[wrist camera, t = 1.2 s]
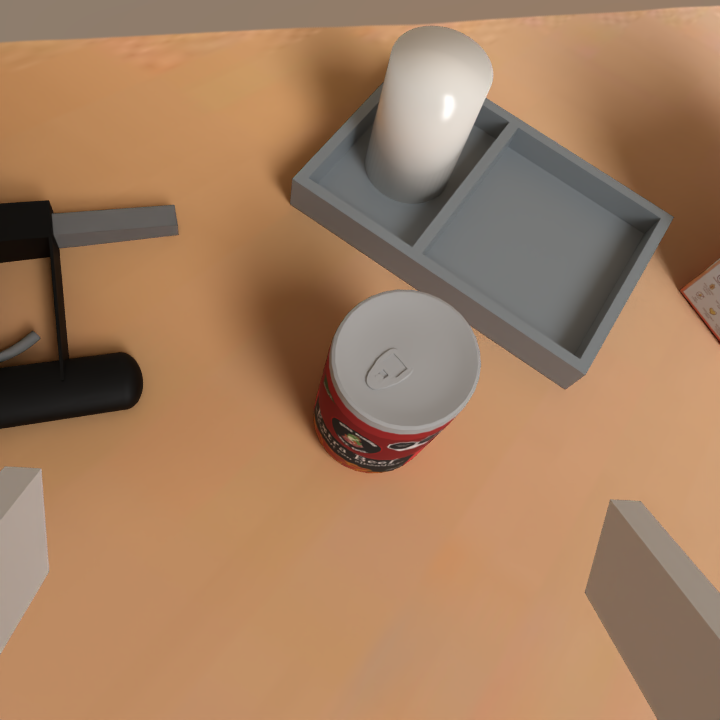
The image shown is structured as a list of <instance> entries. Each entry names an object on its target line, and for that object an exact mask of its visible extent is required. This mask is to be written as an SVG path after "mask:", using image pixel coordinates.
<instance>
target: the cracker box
mask: <svg viewBox="0 0 720 720" xmlns="http://www.w3.org/2000/svg"><path fill="white" fill-rule="evenodd" d="M680 291H681V293H682V294H683V295H684V297H685V298H686V299H687V300H688V301H689V303H690V304H691V305H692V306H693V308H694V309H695V310H696V312H697V313H698V314H699V316H700V317H701V318H702V319H703V321H704V322H705V323H706V325H707V326H708V327H709V328H710V330H711V331H712V332H713V334H714V335H715V336H716V337H717V339H718V340H719V341H720V258H719V259H718V260H717V261H716V262H714V263H713V264H712V265H711V266H710V267H709V268H707V269H706V270H705V271H704V272H703V273H701V274H700V275H698V276H697V277H696V278H694V279H693V280H692V281H690V282H689V283H688V284H687V285H685V286H684V287H683V288H682V289H681V290H680Z"/></svg>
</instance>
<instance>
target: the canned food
mask: <svg viewBox="0 0 720 720" xmlns="http://www.w3.org/2000/svg"><path fill="white" fill-rule="evenodd" d="M480 367H481V360H480V350H479V347H478V343H477V340H476V337H475V335H474V333H473V331H472V329H471V327H470V325H469V324H468V323H467V321H466V320H465V319H464V317H463V316H462V315H461V314H460V313H459V312H458V311H457V310H456V309H454V308H453V307H452V306H451V305H450V304H448V303H446V302H445V301H443V300H441V299H440V298H438V297H435V296H433V295H430V294H428V293H424V292H419V291H415V290H392V291H386V292H382V293H379V294H376V295H374V296H371V297H369V298H367V299H366V300H364V301H362V302H361V303H359V304H358V305H357V306H356V307H354V308H353V309H352V310H351V311H350V312H349V313H348V314H347V316H346V317H345V318H344V320H343V321H342V322H341V324H340V326H339V327H338V329H337V331H336V333H335V335H334V337H333V340H332V343H331V346H330V349H329V352H328V356H327V360H326V364H325V367H324V371H323V375H322V378H321V382H320V386H319V390H318V393H317V397H316V401H315V406H314V425H315V430H316V433H317V436H318V438H319V441H320V443H321V444H322V446H323V447H324V448H325V450H326V451H327V453H329V454H330V455H331V456H332V457H333V458H334V459H335V460H336V461H337V462H339V463H341V464H342V465H344V466H345V467H348V468H350V469H353V470H355V471H360V472H365V473H382V472H387V471H391V470H394V469H396V468H398V467H401V466H403V465H404V464H406V463H407V462H409V461H410V460H412V459H413V458H414V457H415V456H416V455H417V454H418V453H419V452H420V451H421V450H422V449H423V448H424V447H425V446H426V445H427V444H428V443H430V442H431V441H432V440H433V439H434V438H435V437H436V436H437V435H438V434H439V433H440V432H441V431H442V430H443V429H444V428H445V427H446V426H447V425H448V424H449V423H450V422H451V421H452V420H453V419H454V418H455V417H456V416H457V415H458V414H459V413H460V412H461V411H462V409H463V408H464V407H465V406H466V404H467V403H468V401H469V399H470V398H471V396H472V394H473V393H474V391H475V388H476V385H477V382H478V380H479V375H480Z"/></svg>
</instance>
